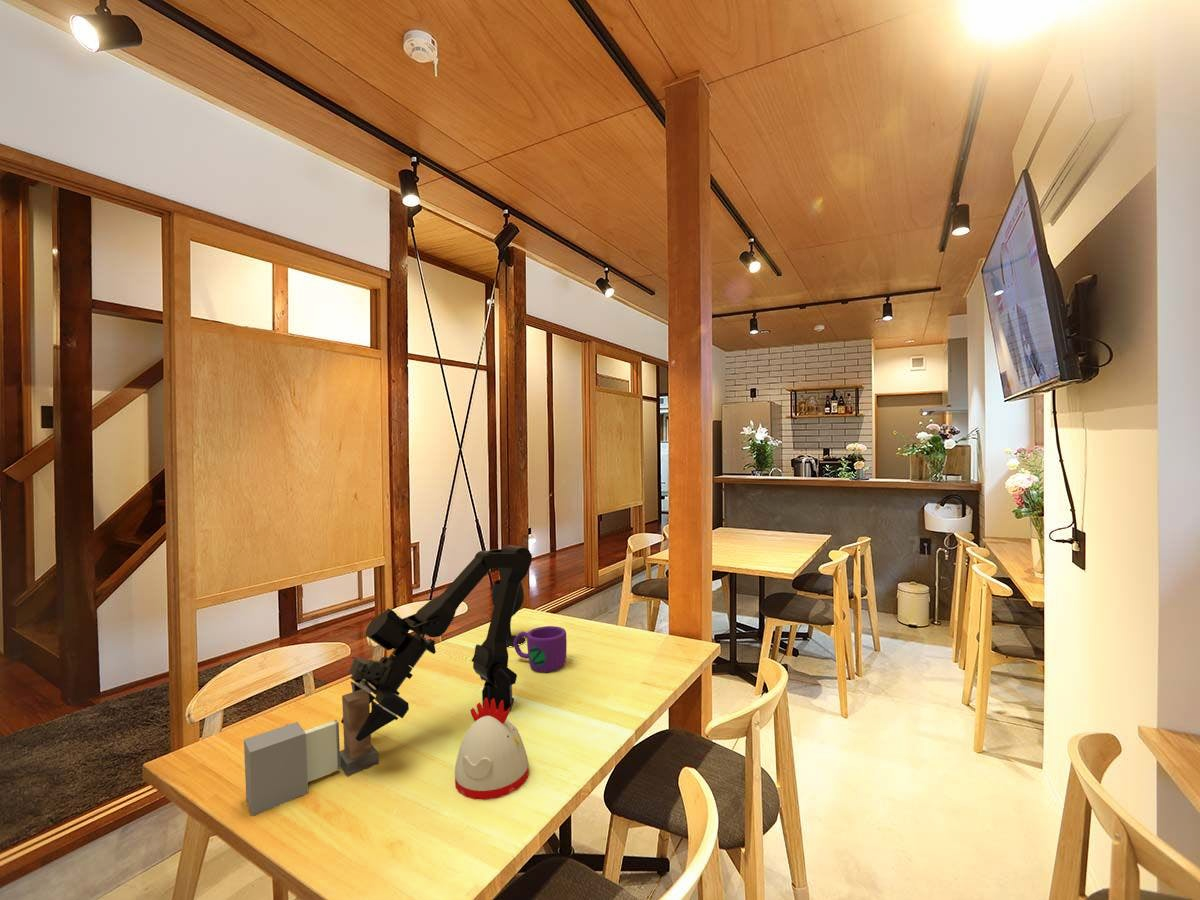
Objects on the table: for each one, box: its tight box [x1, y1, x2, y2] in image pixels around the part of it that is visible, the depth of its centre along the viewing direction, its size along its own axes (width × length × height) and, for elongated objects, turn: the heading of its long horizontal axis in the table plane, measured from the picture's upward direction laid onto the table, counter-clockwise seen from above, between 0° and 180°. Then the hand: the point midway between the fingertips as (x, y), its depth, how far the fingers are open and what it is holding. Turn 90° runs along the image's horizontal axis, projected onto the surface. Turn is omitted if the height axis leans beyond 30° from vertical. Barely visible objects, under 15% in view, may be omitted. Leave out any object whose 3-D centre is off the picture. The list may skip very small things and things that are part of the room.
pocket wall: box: [243, 721, 309, 817], centre depth 99 cm, size 9×6×11 cm
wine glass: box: [491, 579, 526, 648], centre depth 176 cm, size 10×10×20 cm
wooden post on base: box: [340, 689, 379, 777], centre depth 109 cm, size 6×6×14 cm
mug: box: [513, 625, 568, 673], centre depth 156 cm, size 17×11×10 cm, turn 63°
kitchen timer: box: [454, 697, 530, 801], centre depth 103 cm, size 14×14×15 cm
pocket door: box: [304, 719, 341, 783], centre depth 104 cm, size 8×2×9 cm, turn 132°
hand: (349, 731), depth 108 cm, fingers open, 9 cm apart
